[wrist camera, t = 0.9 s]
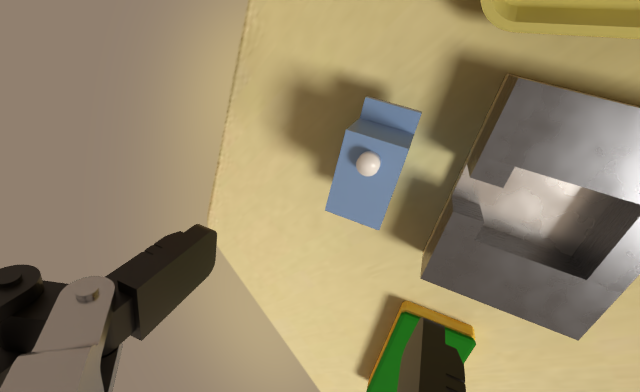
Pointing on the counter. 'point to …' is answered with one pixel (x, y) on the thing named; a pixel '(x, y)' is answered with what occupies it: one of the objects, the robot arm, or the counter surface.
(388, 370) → the dish sponge
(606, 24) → the plastic component
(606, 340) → the counter surface
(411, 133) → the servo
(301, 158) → the counter surface
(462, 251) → the grey hollow block
